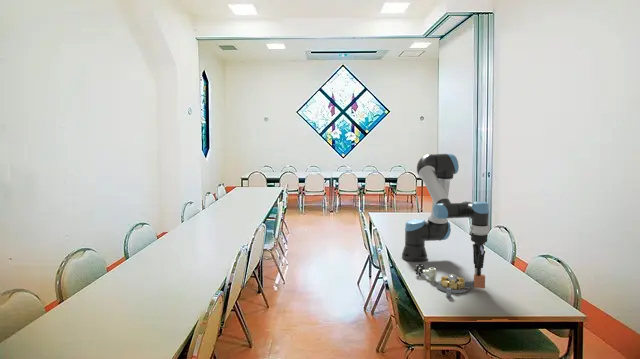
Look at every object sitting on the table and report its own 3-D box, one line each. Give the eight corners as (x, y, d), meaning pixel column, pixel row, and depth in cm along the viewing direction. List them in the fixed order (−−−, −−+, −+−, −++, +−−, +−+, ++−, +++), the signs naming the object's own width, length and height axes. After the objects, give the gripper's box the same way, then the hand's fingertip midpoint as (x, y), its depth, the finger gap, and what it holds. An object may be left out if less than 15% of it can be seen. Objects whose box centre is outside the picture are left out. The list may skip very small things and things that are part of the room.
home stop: (446, 295, 201) (447, 287, 201) (451, 296, 201) (451, 288, 200) (446, 297, 200) (446, 288, 199) (450, 297, 199) (450, 289, 198)
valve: (439, 281, 221) (423, 274, 231) (439, 268, 220) (424, 262, 231) (430, 283, 218) (414, 276, 228) (430, 270, 217) (414, 264, 227)
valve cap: (435, 280, 221) (435, 269, 220) (467, 283, 217) (468, 271, 216) (435, 292, 206) (436, 280, 205) (470, 295, 202) (471, 282, 201)
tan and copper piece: (441, 287, 207) (441, 276, 206) (440, 280, 218) (440, 268, 217) (485, 291, 202) (486, 279, 201) (483, 283, 213) (483, 271, 212)
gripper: (468, 230, 214) (466, 275, 217) (475, 236, 201) (473, 284, 204) (483, 230, 213) (481, 275, 216) (491, 236, 200) (489, 285, 203)
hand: (477, 280), depth 210 cm, fingers closed
